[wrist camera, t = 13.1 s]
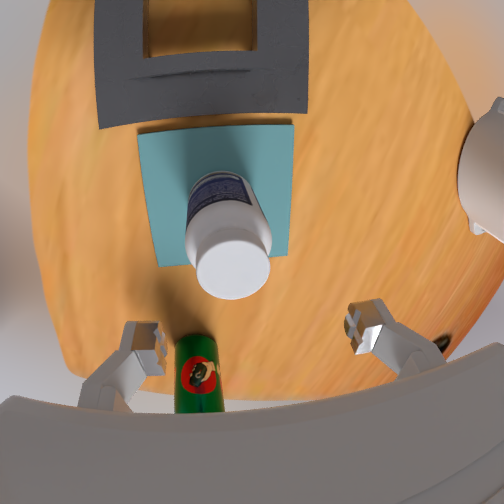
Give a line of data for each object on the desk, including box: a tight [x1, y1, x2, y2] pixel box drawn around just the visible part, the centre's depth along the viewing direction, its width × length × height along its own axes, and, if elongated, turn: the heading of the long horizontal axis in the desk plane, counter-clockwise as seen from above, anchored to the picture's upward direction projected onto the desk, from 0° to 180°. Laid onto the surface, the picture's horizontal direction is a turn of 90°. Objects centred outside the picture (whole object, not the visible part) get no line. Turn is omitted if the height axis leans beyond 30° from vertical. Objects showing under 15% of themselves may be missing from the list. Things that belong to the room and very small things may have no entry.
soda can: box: [174, 334, 225, 414], centre depth 28 cm, size 5×5×12 cm
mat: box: [137, 124, 294, 267], centre depth 24 cm, size 12×12×1 cm
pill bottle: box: [185, 171, 272, 299], centre depth 19 cm, size 5×5×10 cm
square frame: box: [94, 0, 309, 129], centre depth 14 cm, size 16×16×4 cm
